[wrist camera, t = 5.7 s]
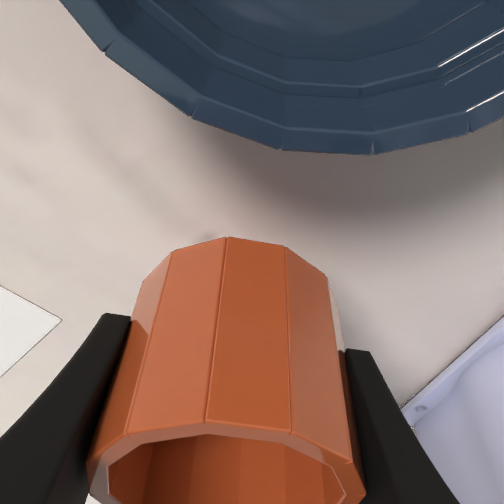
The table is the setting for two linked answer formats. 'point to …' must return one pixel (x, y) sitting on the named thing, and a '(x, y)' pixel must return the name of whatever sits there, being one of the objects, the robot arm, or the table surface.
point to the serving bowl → (314, 66)
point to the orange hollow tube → (229, 386)
